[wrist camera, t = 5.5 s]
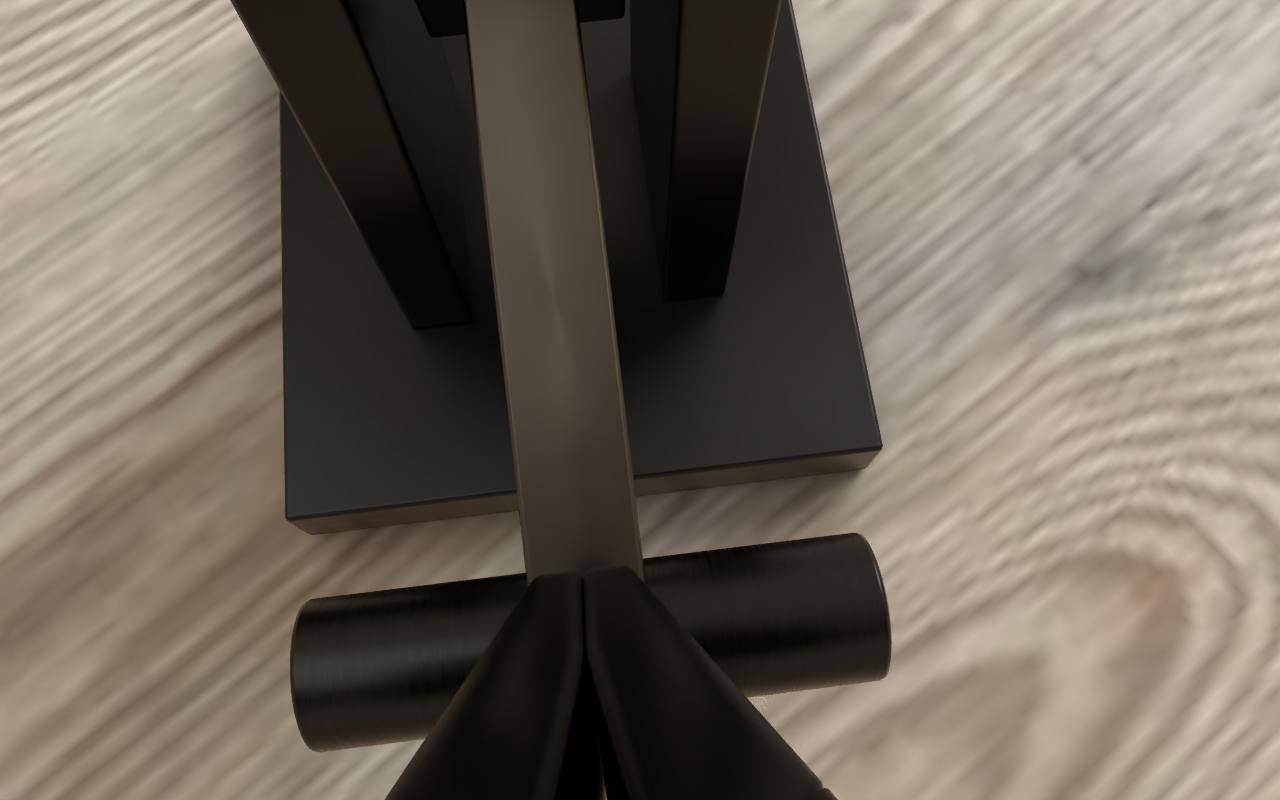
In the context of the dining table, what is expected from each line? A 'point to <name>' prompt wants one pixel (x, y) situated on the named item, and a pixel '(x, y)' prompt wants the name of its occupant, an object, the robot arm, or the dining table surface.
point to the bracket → (636, 250)
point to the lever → (568, 440)
